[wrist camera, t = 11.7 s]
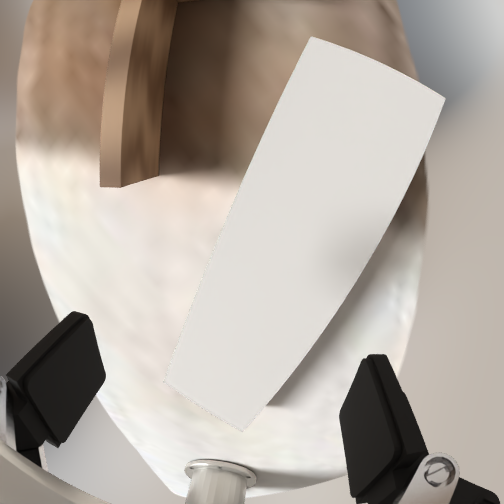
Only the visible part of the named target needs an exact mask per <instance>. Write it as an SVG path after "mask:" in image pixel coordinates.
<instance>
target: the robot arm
mask: <svg viewBox="0 0 504 504" xmlns="http://www.w3.org/2000/svg"><path fill="white" fill-rule="evenodd" d="M6 376H7V378H8V380H9V381H8V382H7V383H6V382H5V380H4V378H2V377H1V376H0V504H110V503H108V502H106V501H103V500H101V499H99V498H96V497H94V496H92V495H90V494H88V493H86V492H84V491H82V490H80V489H78V488H76V487H73V486H72V485H70V484H68V483H66V482H64V481H62V480H61V479H59V478H57V477H56V476H54V475H52V474H50V473H49V472H48V467H47V462H46V457H45V452H44V447H43V443H44V441H45V440H46V441H47V442H48V443H50V444H52V445H54V446H55V447H57V448H58V447H59V446H60V444H61V443H64V442H65V441H66V440H67V438H68V437H69V435H70V434H71V432H72V430H73V429H74V427H75V426H76V424H77V423H78V421H79V419H80V418H81V416H82V415H83V413H84V412H85V410H86V409H87V407H88V406H89V404H90V403H91V401H92V400H93V398H94V397H95V395H96V394H97V392H98V391H99V389H100V388H101V386H102V385H103V383H104V381H105V378H106V373H105V370H104V366H103V363H102V359H101V356H100V352H99V348H98V344H97V340H96V336H95V332H94V328H93V323H92V321H91V320H90V319H89V317H88V315H86V314H83V313H79V312H76V311H73V312H71V313H70V314H69V315H68V316H67V317H65V318H64V319H63V320H62V321H61V322H60V323H59V324H58V325H57V326H56V327H55V328H53V329H52V330H51V331H50V332H49V333H48V334H47V335H46V336H45V337H44V338H43V339H42V340H41V341H40V342H39V343H37V344H36V345H35V347H33V348H32V349H31V350H30V351H29V352H28V353H27V354H26V355H25V356H24V357H23V358H22V359H21V360H20V361H19V362H18V363H17V364H16V365H15V366H14V367H13V368H12V369H11V370H10V371H9V372H8V373H7V375H6ZM339 419H340V425H341V431H342V438H343V444H344V450H345V457H346V464H347V471H348V478H349V486H350V494H351V496H352V497H353V498H356V504H362V503H368V504H500V501H499V498H498V497H497V495H496V494H495V493H493V492H491V491H489V490H487V489H484V488H482V487H480V486H477V485H475V484H473V483H471V482H468V481H466V480H464V479H462V478H460V477H459V474H460V472H459V466H458V464H457V462H456V461H455V460H454V459H453V458H452V457H450V456H449V455H447V454H445V453H433V454H430V455H429V453H428V450H427V448H426V445H425V442H424V439H423V437H422V435H421V431H420V429H419V426H418V424H417V421H416V419H415V416H414V414H413V411H412V409H411V406H410V404H409V402H408V399H407V397H406V395H405V393H404V392H403V391H402V389H401V387H400V385H399V382H398V380H397V378H396V375H395V373H394V371H393V369H392V366H391V364H390V362H389V360H388V357H387V356H386V355H385V354H370V355H368V356H367V358H366V359H362V361H361V363H360V366H359V368H358V371H357V373H356V376H355V378H354V380H353V383H352V385H351V388H350V390H349V392H348V394H347V397H346V399H345V401H344V403H343V405H342V408H341V410H340V414H339ZM184 471H185V473H186V475H187V476H188V477H189V478H191V482H190V486H189V490H188V494H187V498H186V502H185V504H244V502H245V495H246V489H247V488H250V487H252V486H254V485H255V484H256V479H257V478H256V475H255V474H254V473H253V472H252V471H250V470H248V469H246V468H244V467H242V466H239V465H236V464H232V463H228V462H222V461H215V460H195V461H191V462H189V463H187V464H186V466H185V470H184Z"/></svg>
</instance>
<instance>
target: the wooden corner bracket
mask: <svg viewBox="0 0 504 504" xmlns="http://www.w3.org/2000/svg"><path fill="white" fill-rule="evenodd" d="M187 1H197V0H122V1H121V5H120V9H119V12H118V16H117V21H116V25H115V29H114V34H113V39H112V44H111V49H110V55H109V61H108V67H107V74H106V81H105V89H104V98H103V109H102V121H101V139H100V187H117V188H121V187H124V186H127V185H130V184H133V183H137V182H140V181H143V180H146V179H150V178H153V177H157V176H159V150H160V133H161V119H162V107H163V97H164V87H165V79H166V71H167V63H168V56H169V49H170V43H171V37H172V31H173V25H174V20H175V14H176V9H177V5H178V3H179V2H187Z"/></svg>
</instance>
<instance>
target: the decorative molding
mask: <svg viewBox="0 0 504 504" xmlns="http://www.w3.org/2000/svg"><path fill="white" fill-rule="evenodd" d="M444 101H445V98H444V97H442V96H441V95H439V94H438V93H436V92H434V91H433V90H431V89H429V88H428V87H426V86H424V85H423V84H421V83H419V82H417V81H415V80H414V79H412V78H410V77H408V76H406V75H404V74H402V73H400V72H399V71H397V70H395V69H393V68H390V67H388V66H386V65H384V64H382V63H380V62H378V61H376V60H373V59H371V58H369V57H366V56H364V55H362V54H359V53H357V52H354V51H352V50H349V49H347V48H344V47H341V46H339V45H336V44H333V43H330V42H327V41H324V40H321V39H318V38H315V37H312V36H311V37H310V39H309V41H308V43H307V45H306V47H305V49H304V51H303V53H302V55H301V57H300V59H299V61H298V63H297V65H296V67H295V69H294V71H293V73H292V75H291V77H290V79H289V81H288V83H287V85H286V88H285V90H284V92H283V94H282V96H281V98H280V100H279V102H278V104H277V106H276V108H275V111H274V113H273V115H272V117H271V119H270V121H269V123H268V126H267V128H266V130H265V132H264V134H263V136H262V139H261V141H260V143H259V145H258V147H257V150H256V152H255V154H254V156H253V159H252V161H251V163H250V165H249V167H248V170H247V172H246V174H245V177H244V179H243V181H242V183H241V186H240V188H239V190H238V193H237V195H236V197H235V200H234V202H233V204H232V207H231V209H230V211H229V214H228V216H227V218H226V221H225V223H224V226H223V228H222V230H221V233H220V235H219V238H218V240H217V242H216V245H215V247H214V250H213V252H212V255H211V257H210V260H209V262H208V265H207V267H206V270H205V272H204V275H203V277H202V280H201V282H200V285H199V287H198V290H197V292H196V295H195V297H194V300H193V303H192V305H191V308H190V310H189V313H188V316H187V318H186V321H185V324H184V326H183V329H182V332H181V334H180V337H179V340H178V342H177V345H176V348H175V351H174V353H173V356H172V359H171V362H170V364H169V367H168V370H167V373H166V376H165V378H164V381H163V382H164V383H165V384H167V385H168V386H169V387H171V388H172V389H174V390H175V391H177V392H178V393H180V394H181V395H182V396H184V397H185V398H187V399H188V400H190V401H191V402H193V403H195V404H196V405H198V406H199V407H201V408H202V409H204V410H205V411H207V412H209V413H210V414H212V415H214V416H215V417H217V418H219V419H220V420H222V421H224V422H225V423H227V424H229V425H231V426H232V427H234V428H236V429H238V430H240V431H241V432H243V431H244V430H245V429H246V428H247V427H248V426H249V424H250V423H251V422H252V421H253V420H254V419H255V418H256V416H257V415H258V414H259V413H260V412H261V411H262V410H263V408H264V407H265V406H266V405H267V404H268V402H269V401H270V400H271V399H272V398H273V396H274V395H275V394H276V393H277V392H278V390H279V389H280V388H281V387H282V385H283V384H284V383H285V382H286V380H287V379H288V378H289V377H290V375H291V374H292V373H293V371H294V370H295V369H296V368H297V366H298V365H299V364H300V362H301V361H302V360H303V358H304V357H305V356H306V354H307V353H308V352H309V350H310V349H311V348H312V346H313V345H314V343H315V342H316V341H317V339H318V338H319V336H320V335H321V334H322V332H323V331H324V329H325V328H326V326H327V325H328V324H329V322H330V321H331V319H332V318H333V316H334V315H335V313H336V312H337V310H338V309H339V307H340V306H341V304H342V303H343V301H344V300H345V298H346V297H347V295H348V294H349V292H350V290H351V289H352V287H353V286H354V284H355V282H356V281H357V279H358V278H359V276H360V274H361V273H362V271H363V269H364V268H365V266H366V264H367V263H368V261H369V259H370V258H371V256H372V254H373V253H374V251H375V249H376V247H377V246H378V244H379V242H380V240H381V239H382V237H383V235H384V233H385V231H386V230H387V228H388V226H389V224H390V222H391V220H392V218H393V216H394V215H395V213H396V211H397V209H398V207H399V205H400V203H401V201H402V199H403V197H404V195H405V193H406V191H407V189H408V187H409V185H410V183H411V181H412V179H413V176H414V174H415V172H416V170H417V168H418V166H419V163H420V161H421V159H422V157H423V154H424V152H425V150H426V147H427V145H428V143H429V140H430V138H431V135H432V133H433V131H434V128H435V126H436V123H437V120H438V118H439V115H440V113H441V109H442V107H443V104H444Z"/></svg>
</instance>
